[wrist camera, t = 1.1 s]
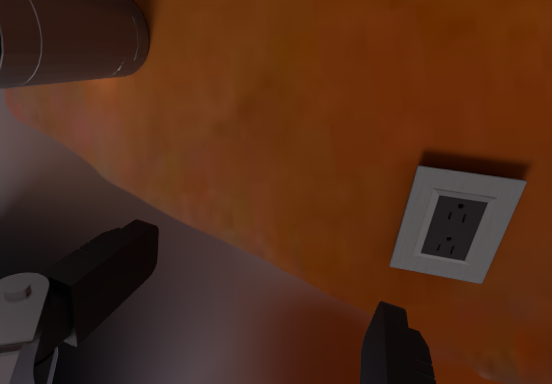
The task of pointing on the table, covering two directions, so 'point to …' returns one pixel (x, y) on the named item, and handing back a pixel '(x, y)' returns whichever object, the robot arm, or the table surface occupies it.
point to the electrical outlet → (454, 222)
